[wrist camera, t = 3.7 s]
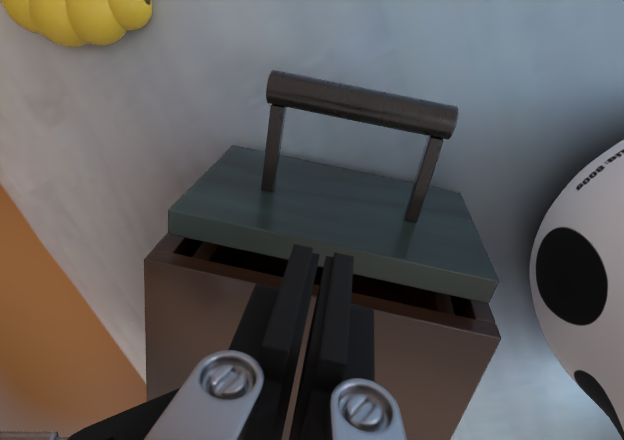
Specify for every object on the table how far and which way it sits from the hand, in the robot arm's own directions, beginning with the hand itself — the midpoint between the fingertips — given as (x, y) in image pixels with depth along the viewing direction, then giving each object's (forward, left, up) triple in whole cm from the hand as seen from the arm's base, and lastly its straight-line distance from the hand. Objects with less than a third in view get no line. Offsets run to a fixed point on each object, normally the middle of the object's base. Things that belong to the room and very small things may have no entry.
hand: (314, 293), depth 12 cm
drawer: (+6, 0, -14) cm, 16 cm away
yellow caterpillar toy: (-4, -16, -15) cm, 22 cm away
